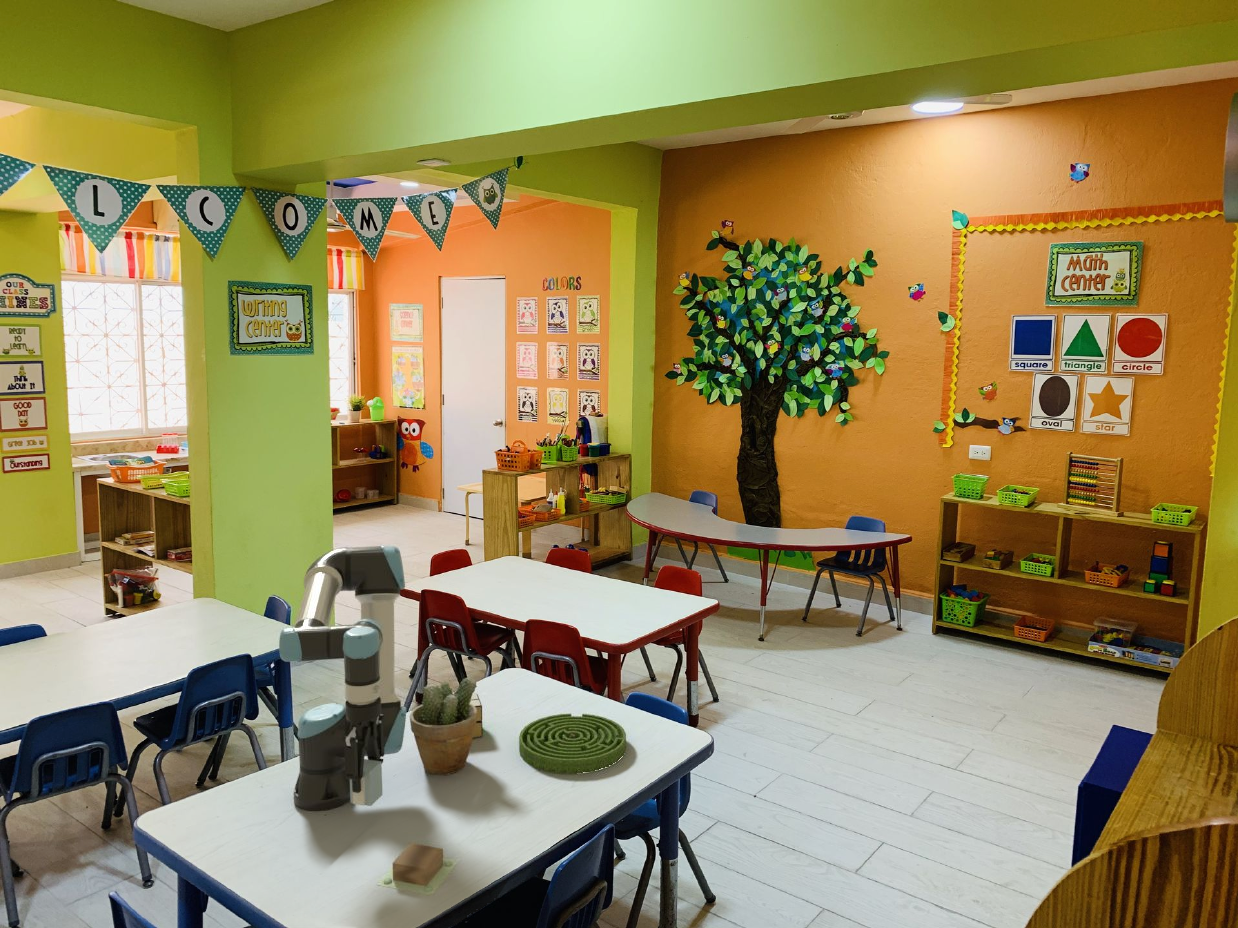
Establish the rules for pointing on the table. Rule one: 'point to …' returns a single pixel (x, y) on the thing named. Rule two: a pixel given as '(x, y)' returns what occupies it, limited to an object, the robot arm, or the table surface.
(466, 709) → the potted plant
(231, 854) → the table surface
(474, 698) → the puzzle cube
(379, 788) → the column brick
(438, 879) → the plate
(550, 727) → the maze
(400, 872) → the base brick
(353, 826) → the table surface
